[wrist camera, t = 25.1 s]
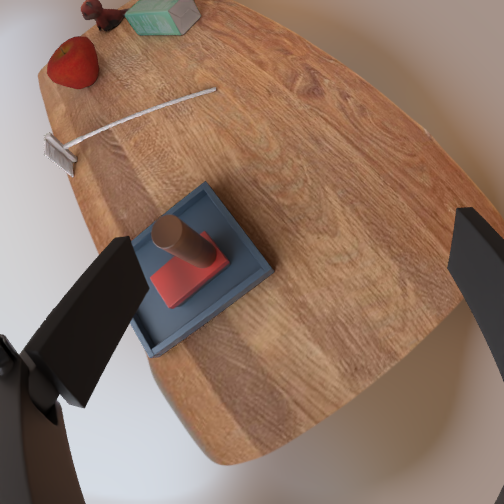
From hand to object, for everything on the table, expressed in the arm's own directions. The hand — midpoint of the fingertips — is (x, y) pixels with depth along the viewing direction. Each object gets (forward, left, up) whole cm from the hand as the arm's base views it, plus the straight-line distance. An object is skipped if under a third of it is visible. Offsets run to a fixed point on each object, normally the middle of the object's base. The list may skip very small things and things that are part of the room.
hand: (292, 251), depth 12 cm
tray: (+4, +15, -24) cm, 28 cm away
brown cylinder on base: (+4, +13, -23) cm, 27 cm away
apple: (+46, +40, -24) cm, 65 cm away
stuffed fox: (+68, +40, -24) cm, 83 cm away
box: (+57, +23, -24) cm, 66 cm away
